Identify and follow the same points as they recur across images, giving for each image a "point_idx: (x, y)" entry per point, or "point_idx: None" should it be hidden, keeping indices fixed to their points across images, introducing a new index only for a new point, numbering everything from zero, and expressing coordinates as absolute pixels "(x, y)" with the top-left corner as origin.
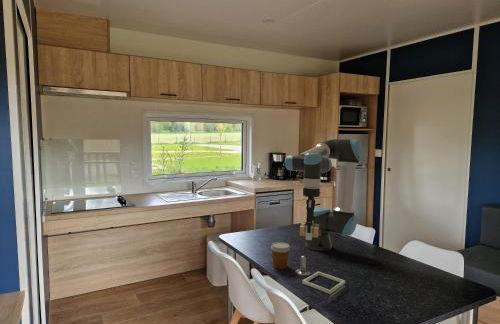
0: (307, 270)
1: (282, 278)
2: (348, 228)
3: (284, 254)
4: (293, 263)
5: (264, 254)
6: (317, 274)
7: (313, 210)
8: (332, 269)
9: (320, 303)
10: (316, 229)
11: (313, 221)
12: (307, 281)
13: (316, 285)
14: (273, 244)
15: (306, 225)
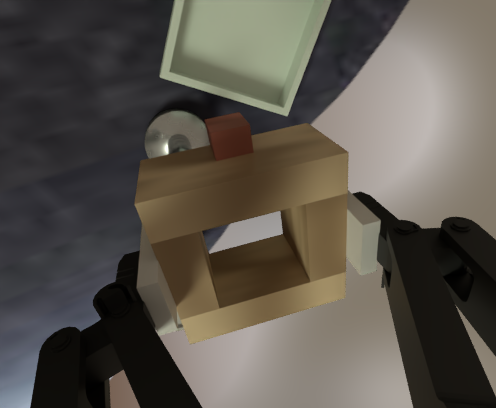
0: (151, 132)
1: None
2: None
3: None
4: (84, 212)
5: (79, 324)
6: (181, 75)
7: (459, 403)
8: (5, 18)
9: (379, 8)
10: (343, 165)
11: (143, 279)
12: (289, 94)
13: (311, 48)
14: (180, 324)
15: (374, 266)
